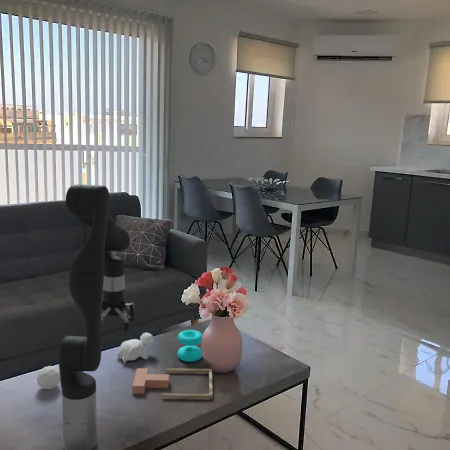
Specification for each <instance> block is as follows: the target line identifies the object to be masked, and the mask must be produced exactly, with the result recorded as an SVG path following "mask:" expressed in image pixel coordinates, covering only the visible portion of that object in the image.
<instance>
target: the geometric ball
mask: <svg viewBox="0 0 450 450" xmlns="http://www.w3.org/2000/svg"><path fill="white" fill-rule="evenodd" d="M36 380H37V385H38V386H39V387H40V388H41V389H44V390H48V391H49V390H53V389H55V388H56V387H57V386H58V385H59V384H60V370H59V368H57V367H55V366H52V365H48V366H44V367H42V368H41V369H40V370H39V371H38V373H37V377H36Z"/></svg>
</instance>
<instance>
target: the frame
mask: <svg viewBox="0 0 450 450" xmlns="http://www.w3.org/2000/svg"><path fill="white" fill-rule="evenodd" d="M212 370H213V369H212V368H181V367H179V368H177V367H176V368H172V367H169V368H168V367H166V369H165V374H180V375H182V374H186V375H188V374H193V375H196V374H197V375H208V383H209V385H208V389H209V390H208V391H209V392H208V393H165V392H163V393H162V397H161V398H162V400H199V401H200V400H202V401H203V400H205V401H206V400H207V401H208V400H210V401H212V400H213V397H214V396H213V393H214V392H213V371H212Z"/></svg>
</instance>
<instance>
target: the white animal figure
mask: <svg viewBox="0 0 450 450" xmlns="http://www.w3.org/2000/svg"><path fill="white" fill-rule="evenodd" d="M139 338H140V339H136V338H133V339H129V340H124V341H123V342H121V344H120V346H119V348H118V350H117V352H115V354H116V355H117V358H118V359H119V360H120V358H121V359H122V362H123V363H124V365H125V364H127V361H135V360H136V359H138V358H139V357H141V358H142V359H144V360H147V359H148V358H149V357H148V355H147V354H146V353H145V352H144V347H146V348H148V347H150V346H152V345H153V344H154V341H155V339H154V336H153V334H151V333H149V332H143V333H142V334H141V335H140V337H139Z"/></svg>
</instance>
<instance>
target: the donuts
mask: <svg viewBox="0 0 450 450" xmlns="http://www.w3.org/2000/svg"><path fill="white" fill-rule="evenodd" d="M202 335H203V334H202V332H201V331H198V330H195V329H185V330H183V331H181V332H180V333H179V334H178V335H177V339H178V342H179V343H180V344H182V345H184V346H181V347H180V348H179V349H178V350H177V357H178V358H179V360H181V361H183V362H186V363H191V362H192V363H194V362H198V361H199V360H200V359H202V357H203V355H202V354H201V350H202V349H201V348H200V347H198V346H197V345H199V344H201V343H202V342H203V340H202ZM201 341H202V342H201Z"/></svg>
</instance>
